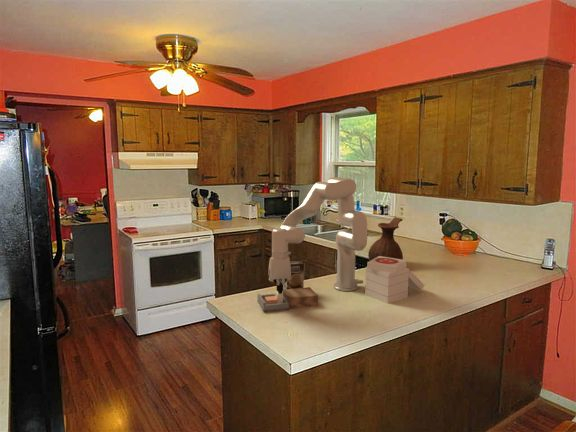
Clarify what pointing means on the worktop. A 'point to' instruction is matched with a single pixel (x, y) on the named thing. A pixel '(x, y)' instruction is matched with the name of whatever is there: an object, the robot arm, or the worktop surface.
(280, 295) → the tile
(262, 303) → the box
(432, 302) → the worktop surface
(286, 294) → the wooden square board
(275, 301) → the tile
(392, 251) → the jug
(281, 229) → the robot arm
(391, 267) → the pizza boxes
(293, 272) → the coffee box
